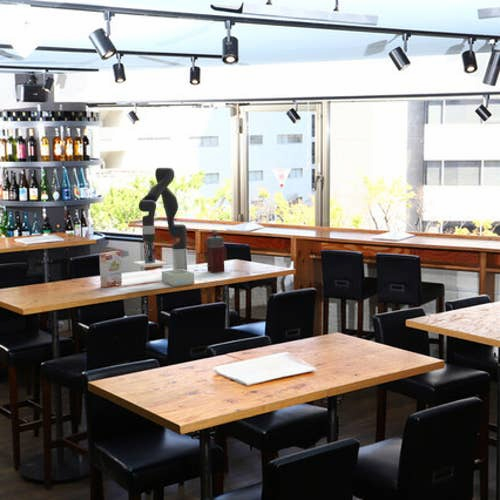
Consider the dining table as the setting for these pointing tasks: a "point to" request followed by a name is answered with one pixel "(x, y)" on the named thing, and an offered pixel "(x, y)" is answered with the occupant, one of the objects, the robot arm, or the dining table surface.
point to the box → (178, 277)
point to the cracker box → (110, 268)
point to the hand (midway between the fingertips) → (149, 260)
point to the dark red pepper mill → (215, 253)
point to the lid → (149, 262)
